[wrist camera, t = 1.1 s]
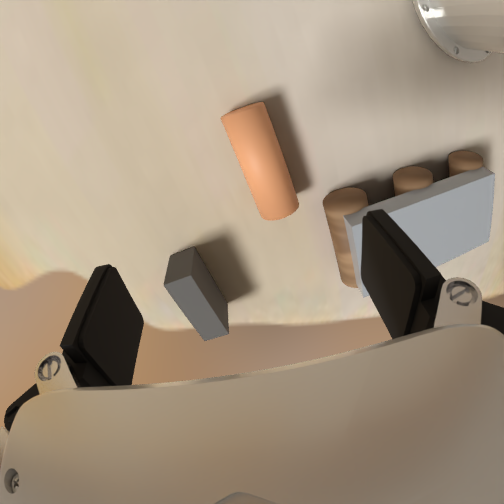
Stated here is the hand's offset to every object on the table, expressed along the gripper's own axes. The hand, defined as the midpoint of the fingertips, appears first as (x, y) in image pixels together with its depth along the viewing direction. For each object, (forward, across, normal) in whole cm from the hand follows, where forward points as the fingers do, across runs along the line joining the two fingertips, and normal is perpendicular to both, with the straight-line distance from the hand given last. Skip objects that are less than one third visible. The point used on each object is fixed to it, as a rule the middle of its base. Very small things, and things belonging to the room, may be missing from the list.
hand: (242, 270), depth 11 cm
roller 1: (+18, -4, +1) cm, 19 cm away
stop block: (+18, +7, +14) cm, 24 cm away
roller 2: (+16, -11, +11) cm, 23 cm away
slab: (+14, -18, +10) cm, 25 cm away
